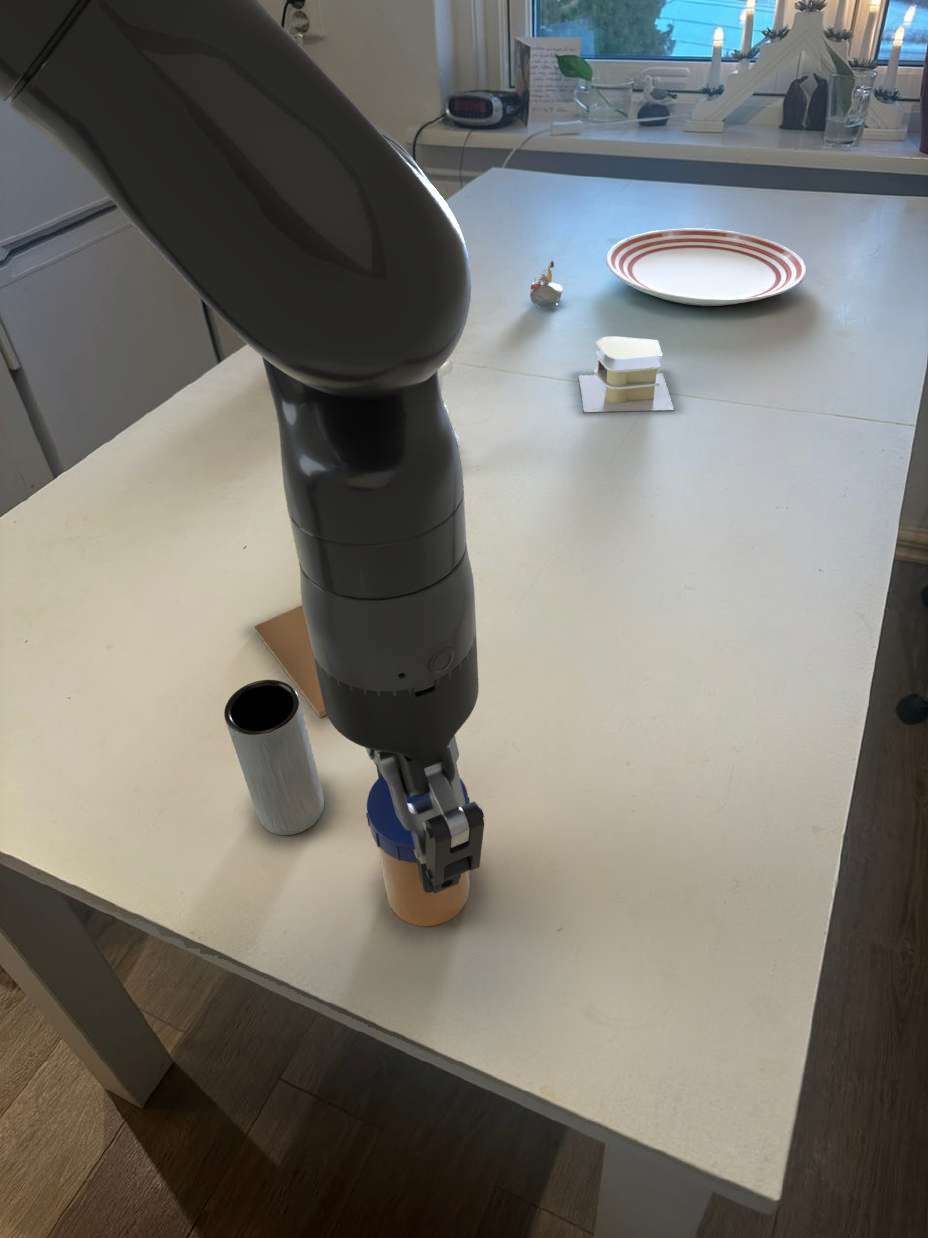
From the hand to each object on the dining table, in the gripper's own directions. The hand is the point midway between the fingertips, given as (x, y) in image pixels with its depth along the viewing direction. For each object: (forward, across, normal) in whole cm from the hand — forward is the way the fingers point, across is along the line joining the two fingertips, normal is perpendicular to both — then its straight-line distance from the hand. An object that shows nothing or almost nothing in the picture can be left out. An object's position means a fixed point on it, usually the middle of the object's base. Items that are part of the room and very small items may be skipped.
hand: (420, 839), depth 51 cm
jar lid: (-3, 0, 0) cm, 3 cm away
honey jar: (+5, 0, 0) cm, 5 cm away
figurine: (+6, -77, +49) cm, 91 cm away
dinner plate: (+6, -73, +72) cm, 103 cm away
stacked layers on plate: (+6, -50, +45) cm, 67 cm away
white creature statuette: (+6, -47, +19) cm, 51 cm away
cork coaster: (+6, -24, +3) cm, 25 cm away
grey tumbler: (+6, -10, -6) cm, 13 cm away
